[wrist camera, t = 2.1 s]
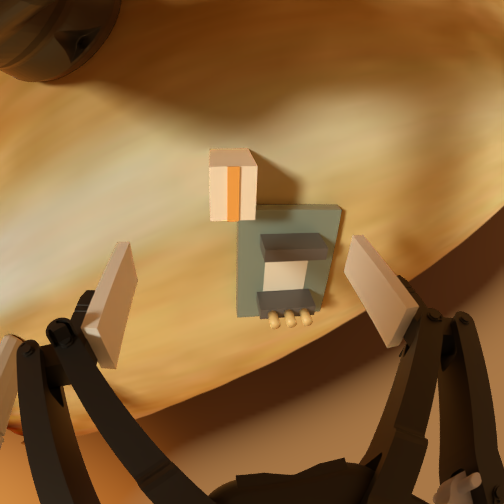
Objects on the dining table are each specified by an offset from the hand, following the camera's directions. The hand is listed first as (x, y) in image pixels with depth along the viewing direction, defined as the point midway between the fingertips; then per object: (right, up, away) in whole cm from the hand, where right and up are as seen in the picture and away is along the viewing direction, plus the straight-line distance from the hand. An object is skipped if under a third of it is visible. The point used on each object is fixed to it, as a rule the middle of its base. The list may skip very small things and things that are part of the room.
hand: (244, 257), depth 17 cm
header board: (+5, -1, +21) cm, 22 cm away
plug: (-2, +9, +14) cm, 17 cm away
